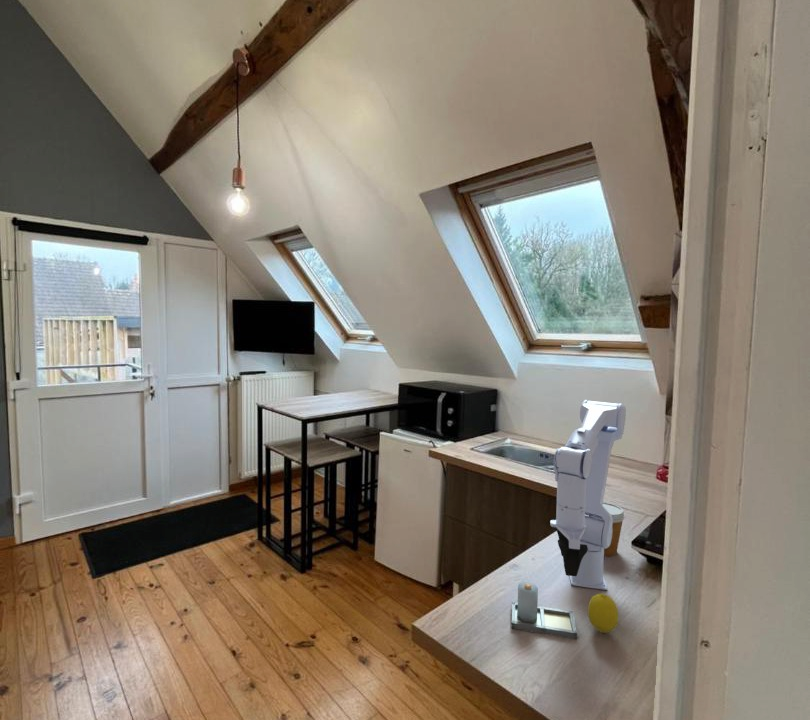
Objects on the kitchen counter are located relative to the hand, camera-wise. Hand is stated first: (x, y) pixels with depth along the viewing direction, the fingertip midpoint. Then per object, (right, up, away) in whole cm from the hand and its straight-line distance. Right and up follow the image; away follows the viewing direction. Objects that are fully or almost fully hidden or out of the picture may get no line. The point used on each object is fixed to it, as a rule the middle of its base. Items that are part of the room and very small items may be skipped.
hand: (568, 565), depth 93 cm
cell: (-10, -10, -2) cm, 14 cm away
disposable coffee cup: (+20, -9, +26) cm, 34 cm away
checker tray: (-7, -10, -3) cm, 13 cm away
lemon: (+5, -11, -6) cm, 13 cm away
